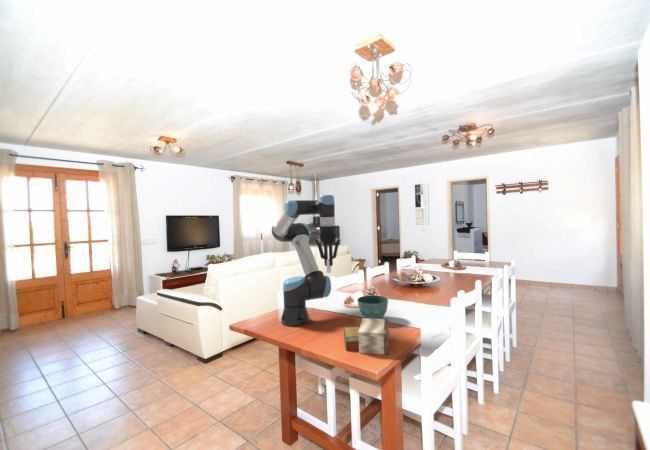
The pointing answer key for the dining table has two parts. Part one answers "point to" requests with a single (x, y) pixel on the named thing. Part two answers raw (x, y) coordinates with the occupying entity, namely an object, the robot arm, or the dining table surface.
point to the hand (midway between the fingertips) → (328, 272)
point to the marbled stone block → (373, 336)
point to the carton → (351, 338)
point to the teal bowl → (373, 306)
